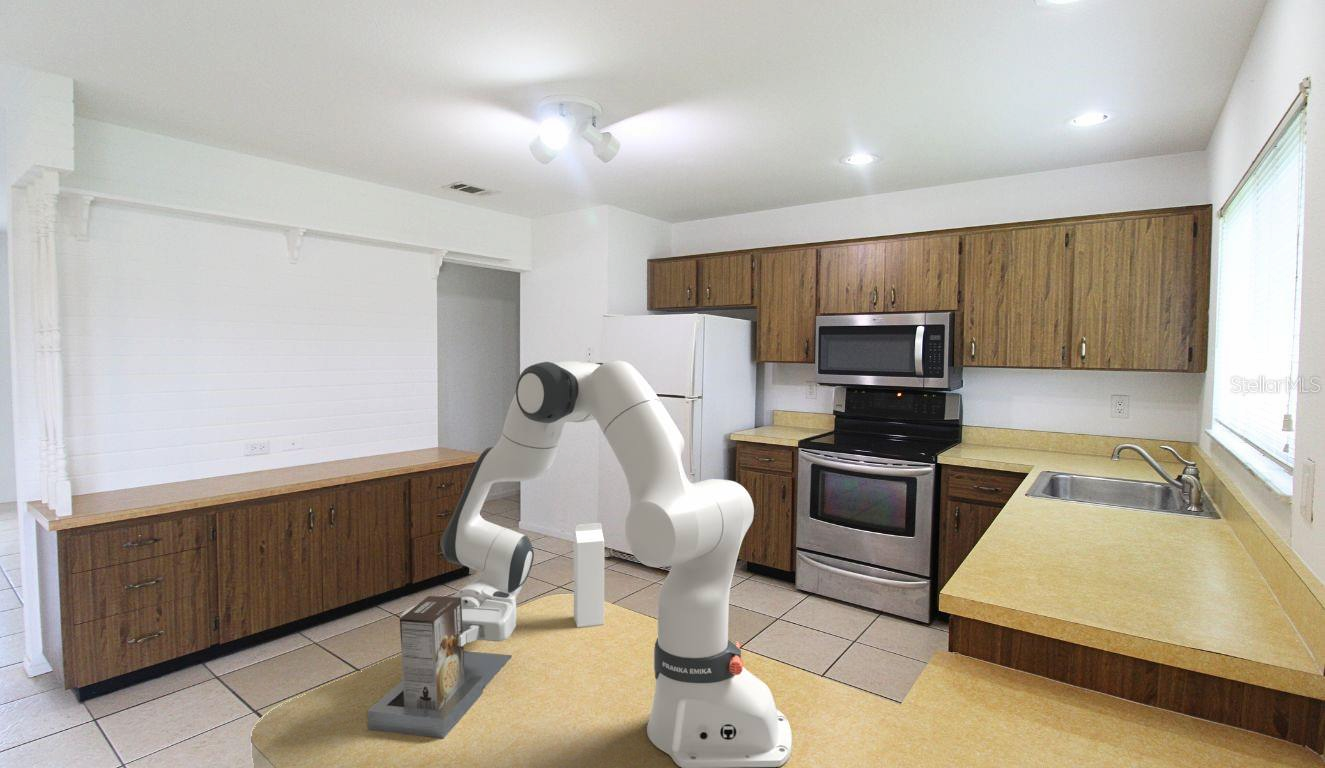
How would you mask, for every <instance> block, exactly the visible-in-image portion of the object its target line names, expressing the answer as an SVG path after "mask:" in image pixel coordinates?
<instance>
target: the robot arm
mask: <svg viewBox="0 0 1325 768" xmlns="http://www.w3.org/2000/svg"><path fill="white" fill-rule="evenodd" d="M515 387H516V388H515V394H514V396H513V398H512V401H511V402H510V405H509V408H508V411H507V414H506V417H505V420H504V421H505V422H504V424H503V429H502V432H501V436H500V439H498V442H496V444H495V445H494V446H491V447H490V446H489V447H487V448H486V449H485V450H484V451H483V452H481V454H480V455H479V457H478V459H477V460H476V462H475V464H474V466H473V468H472V470H471V473H470V475H469V477H468V479H467V481H466V484H465V487H464V489H463V491H462V494H461V496H460V498H459V500H458V503H457V506H456V508H455V510H454V512H453V514H452V516H451V518H450V520H449V522H448V524H447V526H446V528H445V530H444V532H443V534H442V536H441V539H440V543H439V544H440V548H441V551H442V554H443V556H444V558H445V560H446V561H447V562H448V563H452V564H456V565H460V566H463V567H467V568H470V569H472V570H475V571H477V572H481V574H480V575H478V576H477V577H476V578H474V580H473V581H470V582H469V583H468V584H467V585H465V586H463V587H462V588H461V589H459V590H458V591H457V592H456V593H454V595H452V597H461V605H462V626H463V632H458V633H457V634H456V635H454V637H453V641H454V643H453V645H454V646H461V647H462V646H463V647H464V646H465V644H467V643H471V642H474V641H486V642H498V643H499V642H503V641H505V640H507V639H508V638H509V637H510V636H511V635H512V633H513V631H514V630H515V629H516V626H517V600H516V599H517V598H518V596H519V594H520V592H521V590H522V588H523V585H524V583H525V582H526V581H527V579H528V576H529V574H530V572H531V569H532V566H533V563H534V559H535V558H534V556H535V555H534V554H535V552H534V549H533V545H532V542H531V540H530V538H529V537H528V535H525V534H524V533H520V532H517V530H516V531H515V530H513V529H511V528H508V527H504V526H501V525H500V524H495V523H493V522H490V521H487V520H486V519H484V518H483V517H482V515H481V510H482V508H483V506H484V504H485V501H486V499H487V496H488V494H489V491H490V489H491V487H492V485H493V484H495V483H503V482H505V483H506V482H507V483H509V482H525V481H530V480H534V479H536V478H539V477H540V476H542V475H544V474H545V473H547V472H548V471H549V470H550V469H551V467H552V466H553V464H554V461H555V459H556V456H557V453H558V449H559V446H560V442H561V437H562V433H563V429H564V425H565V424H566V423H583V422H588V421H589V422H590V421H593V420H595V421H596V422H597V424H598V426H599V428H600V430H601V431H602V434H603V435H604V438H605V439H606V441H607V442H608V444H609V446H610V448H611V449H612V451H613V453H614V456H615V457H616V459H617V462H618V463H619V465H620V466H621V469H622V471H623V473H624V476H625V478H626V481H627V486H628V490H629V497H630V505H629V506H630V507H629V511H628V514H627V517H626V519H625V525H624V534H625V536H624V537H625V538H626V544H627V545H628V547H629V548H628V549H629V550H630V551H631V554H632V555H633V556H634V557H635V558H636V560H638V562H640V563H642V564H643V565H645V566H647V567H652V568H660V567H661V568H662V567H670V569H669V572H668V574H667V576H666V577H665V579H664V580H663V582H662V583H661V586H660V588H659V590H658V591H659V592H658V594H657V637H656V640H655V643H654V649H653V671H654V678H655V687H654V688H655V689H654V694H653V695H654V696H653V702H652V707H651V712H650V714H649V715H650V716H649V719H648V722H647V724H646V725H647V726H646V735H647V737H648V739H649V741H650V742H651V743H652V744H653V745H654V746H655V747H656V748H657V749H659V750H661V751H663V752H665V754H667V755H669V756H670V757H671V759H672V760H673V762H674V763H675V764H676V765H677V766H678V767H681V768H776V767H778V768H779V767H781V766H782V765H784V764H785V763H786V762H787V761H788V759H789V758H790V755H791V753H792V749H793V748H792V747H793V737H792V729H791V726H790V722H789V720H788V719H787V717H786V715H784V713H782V712H781V711H780V710H779V709H777V707H776V702H775V699H774V696H773V693H772V690H771V689H770V688H769V686H768V685H767V684H766V683H765V682H764V681H763V680H761V679H759V678H758V677H756V676H755V675H754V674H753V673H751V671H749V670H747V668H745V667H744V666H743V665H744V662H743V660H742V649H740V647H741V646H740V643H739V641H738V640H737V641H736V644H735V643H733V641H731V640H730V639H729V612H730V611H729V609H730V608H729V607H730V606H729V605H730V601H729V600H730V593H731V586H732V582H733V576H734V572H735V569H736V564H737V562H738V561H737V560H738V556H739V553H740V550H741V549H740V548H741V546H742V542H743V540H744V538H745V536H746V534H747V532H748V530H749V528H750V527H751V525H752V524H753V520H754V515H755V507H754V503H753V499H752V497H751V495H750V493H749V492H748V490H747V489H746V488H745V487H744V486H743V485H741V484H740V483H738V482H737V481H734V480H729V479H723V478H722V479H719V478H710V479H705V480H701V481H696V482H693V483H692V482H691V481H690V480H689V478H688V476H687V474H686V473H685V472H686V471H685V469H684V466H683V461H682V455H683V453H684V450H685V444H686V442H685V439H684V436H683V435H682V433H681V431H680V430H679V428H678V426H677V425H676V423H675V422H674V420H673V419H672V417H671V415H670V414H669V412H668V411H667V408H666V406H664V404H663V402H662V401H661V399H660V398H659V396H658V395H657V393H656V392H655V391H654V389H653V388H652V387H651V385H650V384H649V382H647V380H646V379H645V378H644V377H643V375H642V374H641V373H640V372H639V371H638V370H637V369H636V368H635V367H634V366H633V365H632V363H629V362H628V361H625V360H621V359H620V360H619V359H617V360H615V359H614V360H610V361H607V362H595V363H593V362H586V361H585V362H584V361H577V360H564V361H563V360H562V361H553V362H550V361H543V362H538V363H535V364H532V365H529V366H527V367H526V368H525V369H523V371H522V372H521V373H520V375H519V377H518V379H517V383H516V386H515ZM418 604H419V603H418ZM418 604H416V605H413V606H411V607H410V608H408V609H406V610H405V611H404V610H403V612H402V613H401V614H400V616H399V619H400V618H401V617H402V616H404V615H405V614H406V613H408V612H409V611H410V610H411V609H413V608H414V607H415V606H417V605H418Z"/></svg>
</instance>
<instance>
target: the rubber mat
mask: <svg viewBox="0 0 1325 768" xmlns="http://www.w3.org/2000/svg"><path fill="white" fill-rule="evenodd" d="M463 651H464V674H465V682H466V681H467V680H468V679H469V678H470V677H471V676H472V675H477V676H483V689H485V688H487V686H488V685H489V684H490V682H492V680H493V679H494V678H495V677H496V676H497V674H499V672H500V671H501V670H502V669H503V668H504V667H505V665H506V664H507V663H508V662H509V661H510V660H511V658H512V657H513V655H512V654H503V653H502V654H501V653H490V652H481V651H480V652H479V651H477V652H476V651H469V650H467V651H466V650H463ZM509 659H510V660H509ZM508 660H509V661H508ZM507 661H508V662H507ZM506 662H507V663H506ZM502 667H503V668H502ZM501 668H502V669H501ZM500 669H501V670H500ZM495 675H496V676H495ZM494 676H495V677H494ZM488 683H489V684H488ZM487 684H488V685H487ZM486 685H487V686H486Z"/></svg>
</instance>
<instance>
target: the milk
mask: <svg viewBox="0 0 1325 768" xmlns="http://www.w3.org/2000/svg"><path fill="white" fill-rule="evenodd" d="M602 527H603V525H602V523H601V522H596V523H595V522H594V523H584V524H582V523H580V524H576V525H575V529H574V530H575V532H574V533H573V619H574V621H575V624H576V627H577V628H584V627H594V626H602V625H605V539H604V534H603V528H602Z"/></svg>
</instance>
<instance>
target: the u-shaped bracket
mask: <svg viewBox="0 0 1325 768" xmlns="http://www.w3.org/2000/svg"><path fill="white" fill-rule="evenodd" d="M482 693H483V694H484V688H483V676H477V675H472V676H471V677H470V678H469V679H468V680H467V681H466V682H465V683H464V684H463V686H462V687H461V688H460V689H459V690H458V691H457V692H456V693H455V694H454V695H453V696H452V697H451V698H450V699H449V700H448V701H447V702H446V703H445V704H444V706H443V707H442V708H441V709H440V710H439V711H435V710H426V709H416V708H406V707H404V690H403V679H402V680H401V681H400V682H399V683H397V685H395V686H394V687H393V688H392V689H391V690H390V691H389V692H387V693H386V694H385V695H384V696H383V697H381V698H380V699H379V700H378V701H377V702H376V703H375V704H374V705H372V706H371V707H370V708H369V709H368V710H367V711H366V723H367V725H366V726H367V730H368V731H375V732H376V731H377V732H382V733H383V732H386V733H394V734H402V735H411V736H420V737H431V738H439V739H445V738H446V736H447V735H448V734H449V733H450V732H451V731H452V730H453V728H454V727H455V726H456V725H457V724H458V723H459V722H460V720H461V719H462V718H463V716H465V715H466V713H467V712H468V711H469V710H470V709H471V708H472V706H474V704H475V703H476V702H477V701H478V700H479V698H480V697H481V696H482V695H483V694H482Z"/></svg>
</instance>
